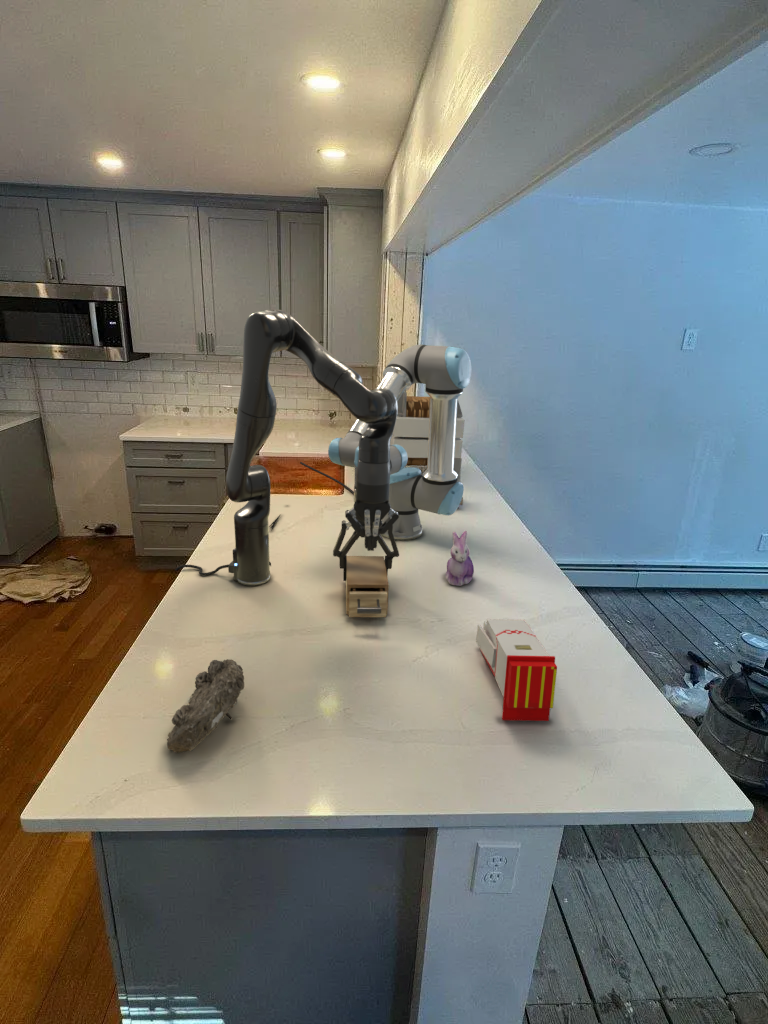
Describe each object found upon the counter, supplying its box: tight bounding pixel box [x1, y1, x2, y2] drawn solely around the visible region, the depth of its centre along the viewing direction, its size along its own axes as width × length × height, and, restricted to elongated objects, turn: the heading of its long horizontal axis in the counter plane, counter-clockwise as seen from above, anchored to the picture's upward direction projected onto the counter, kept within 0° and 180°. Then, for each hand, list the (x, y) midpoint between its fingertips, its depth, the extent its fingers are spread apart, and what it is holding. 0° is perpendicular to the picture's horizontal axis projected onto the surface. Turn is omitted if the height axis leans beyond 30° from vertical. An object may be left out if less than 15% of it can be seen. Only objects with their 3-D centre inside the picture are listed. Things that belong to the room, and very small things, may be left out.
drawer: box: [348, 588, 387, 618], centre depth 147 cm, size 22×9×7 cm, turn 4°
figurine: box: [445, 530, 475, 587], centre depth 165 cm, size 9×10×15 cm
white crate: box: [390, 391, 465, 482], centre depth 268 cm, size 34×33×41 cm
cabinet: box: [345, 555, 390, 616], centre depth 153 cm, size 17×11×9 cm, turn 4°
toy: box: [475, 618, 558, 722], centre depth 122 cm, size 12×13×30 cm
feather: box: [268, 504, 288, 532], centre depth 209 cm, size 2×28×2 cm
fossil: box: [166, 658, 245, 754], centre depth 106 cm, size 22×10×15 cm
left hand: (370, 549), depth 134 cm, fingers closed
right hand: (365, 578), depth 157 cm, fingers closed on cabinet, 11 cm apart
